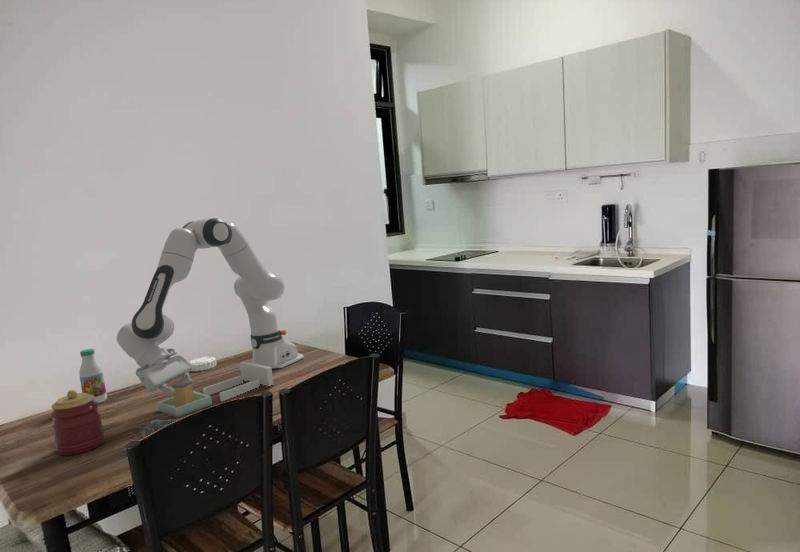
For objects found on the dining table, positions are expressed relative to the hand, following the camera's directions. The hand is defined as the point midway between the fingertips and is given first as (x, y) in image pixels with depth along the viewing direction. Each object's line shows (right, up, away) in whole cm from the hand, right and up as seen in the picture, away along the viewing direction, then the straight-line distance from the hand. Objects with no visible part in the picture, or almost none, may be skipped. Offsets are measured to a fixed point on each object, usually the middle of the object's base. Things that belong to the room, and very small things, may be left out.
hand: (182, 388), depth 195 cm
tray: (+1, -7, +1) cm, 7 cm away
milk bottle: (-39, -9, +18) cm, 44 cm away
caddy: (+1, -6, +1) cm, 6 cm away
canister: (-21, -13, -25) cm, 35 cm away
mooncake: (-11, -1, +52) cm, 54 cm away
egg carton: (+1, -10, -20) cm, 23 cm away
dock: (+14, -4, +15) cm, 21 cm away
